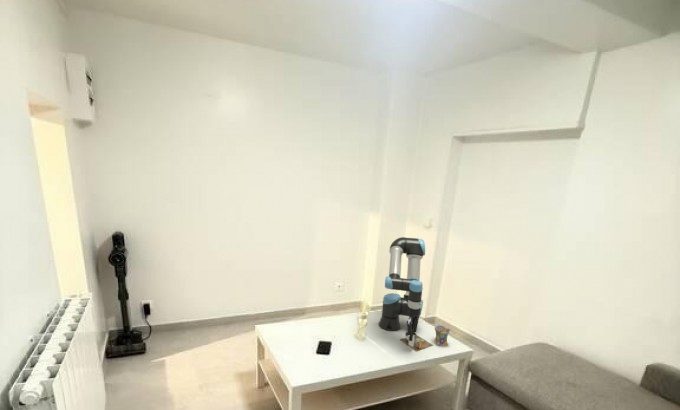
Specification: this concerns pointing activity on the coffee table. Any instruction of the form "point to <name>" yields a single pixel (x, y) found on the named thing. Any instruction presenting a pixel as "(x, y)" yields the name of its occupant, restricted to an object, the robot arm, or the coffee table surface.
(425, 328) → the coffee table surface
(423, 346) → the brown picture tile
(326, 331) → the coffee table surface
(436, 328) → the mug
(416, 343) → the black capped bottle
